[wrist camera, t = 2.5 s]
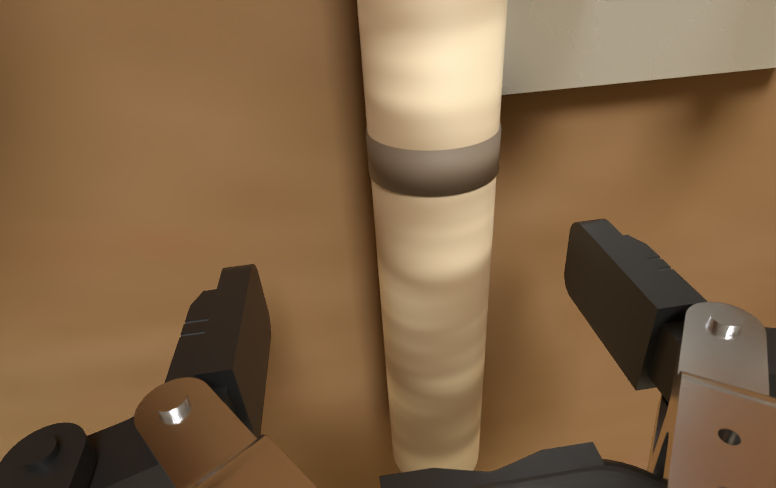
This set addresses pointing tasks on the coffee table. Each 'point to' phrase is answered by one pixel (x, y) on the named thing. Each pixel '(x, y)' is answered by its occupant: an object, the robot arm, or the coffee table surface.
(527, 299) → the coffee table surface
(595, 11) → the white peg stand
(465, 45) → the dowel
